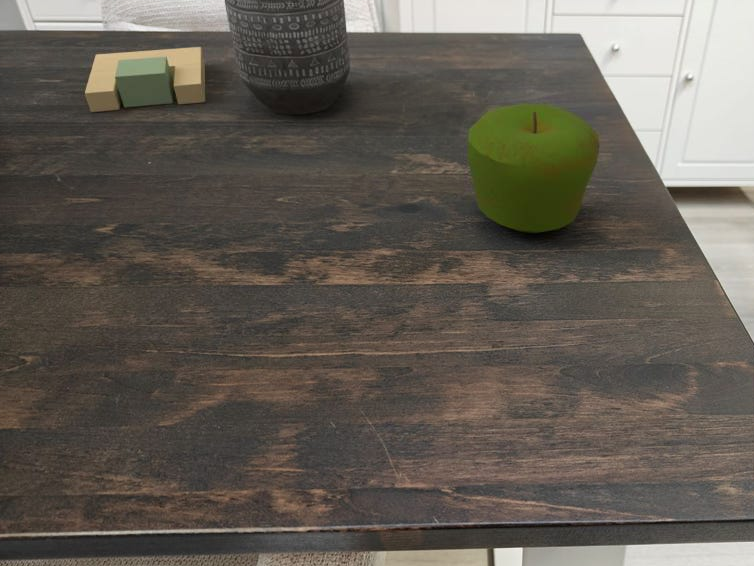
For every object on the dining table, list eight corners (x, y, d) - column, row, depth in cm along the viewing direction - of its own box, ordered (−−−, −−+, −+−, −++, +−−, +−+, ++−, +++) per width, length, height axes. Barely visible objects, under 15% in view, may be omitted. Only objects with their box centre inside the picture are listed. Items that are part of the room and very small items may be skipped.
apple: (448, 232, 75) (446, 124, 67) (495, 179, 83) (499, 78, 76) (565, 262, 71) (577, 152, 64) (603, 204, 80) (618, 101, 72)
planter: (227, 94, 100) (201, -28, 90) (322, 72, 106) (308, -44, 96) (273, 132, 91) (250, 2, 81) (373, 105, 98) (363, -18, 88)
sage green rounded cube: (124, 107, 96) (114, 76, 93) (127, 90, 100) (118, 59, 98) (173, 103, 97) (165, 72, 94) (174, 86, 101) (166, 56, 99)
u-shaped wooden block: (91, 112, 95) (84, 93, 93) (101, 72, 105) (95, 54, 103) (205, 102, 98) (201, 83, 96) (204, 64, 108) (201, 46, 106)
